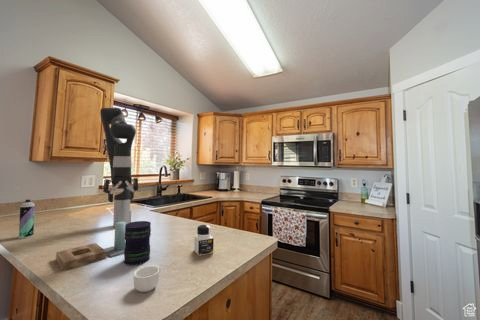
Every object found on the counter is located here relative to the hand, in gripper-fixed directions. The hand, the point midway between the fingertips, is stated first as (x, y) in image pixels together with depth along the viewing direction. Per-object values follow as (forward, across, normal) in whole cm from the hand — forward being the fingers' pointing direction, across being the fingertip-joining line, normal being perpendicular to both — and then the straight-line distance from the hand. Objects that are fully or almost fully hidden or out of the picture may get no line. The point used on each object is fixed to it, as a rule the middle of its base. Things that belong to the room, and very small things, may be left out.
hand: (121, 200), depth 98 cm
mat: (+23, 0, 0) cm, 23 cm away
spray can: (+23, +26, -55) cm, 65 cm away
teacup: (+23, +5, +38) cm, 45 cm away
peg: (+22, 0, 0) cm, 22 cm away
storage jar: (+23, -1, +16) cm, 28 cm away
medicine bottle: (+23, -25, +30) cm, 45 cm away
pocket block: (+23, +14, -2) cm, 27 cm away
